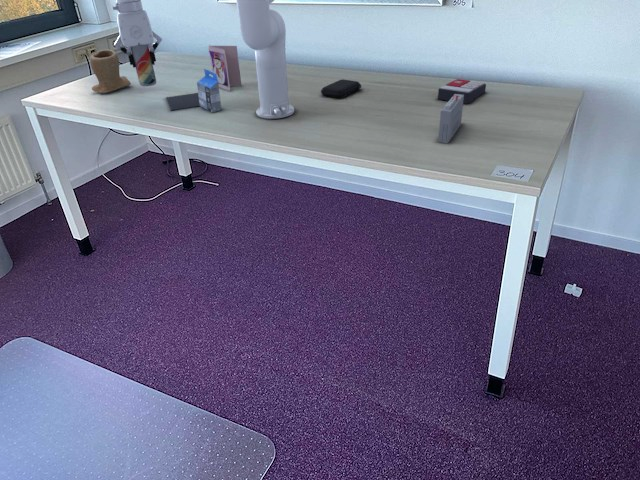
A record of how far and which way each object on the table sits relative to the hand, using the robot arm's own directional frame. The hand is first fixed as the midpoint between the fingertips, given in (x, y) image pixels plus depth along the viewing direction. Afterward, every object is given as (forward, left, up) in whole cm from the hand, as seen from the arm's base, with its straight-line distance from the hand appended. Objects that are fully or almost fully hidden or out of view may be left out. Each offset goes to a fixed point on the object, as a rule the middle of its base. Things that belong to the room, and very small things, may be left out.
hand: (143, 64), depth 176 cm
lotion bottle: (0, 0, -7) cm, 7 cm away
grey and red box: (-39, -101, -15) cm, 109 cm away
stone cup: (+31, +12, -15) cm, 37 cm away
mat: (+1, -13, -15) cm, 19 cm away
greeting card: (+13, -30, -15) cm, 36 cm away
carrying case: (-16, -66, -15) cm, 69 cm away
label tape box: (-11, -19, -15) cm, 26 cm away
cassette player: (-67, -79, -15) cm, 104 cm away
